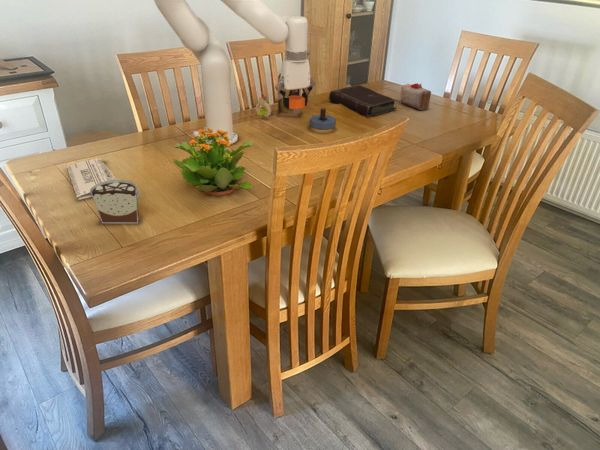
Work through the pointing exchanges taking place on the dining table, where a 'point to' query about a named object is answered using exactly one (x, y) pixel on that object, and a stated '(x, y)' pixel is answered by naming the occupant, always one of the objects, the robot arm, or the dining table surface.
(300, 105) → the orange ring
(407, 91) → the food item
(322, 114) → the ring post
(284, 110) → the coffee box
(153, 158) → the dining table surface
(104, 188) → the cake slice
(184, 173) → the potted flower
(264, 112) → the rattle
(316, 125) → the blue ring
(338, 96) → the diary
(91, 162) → the newspaper
